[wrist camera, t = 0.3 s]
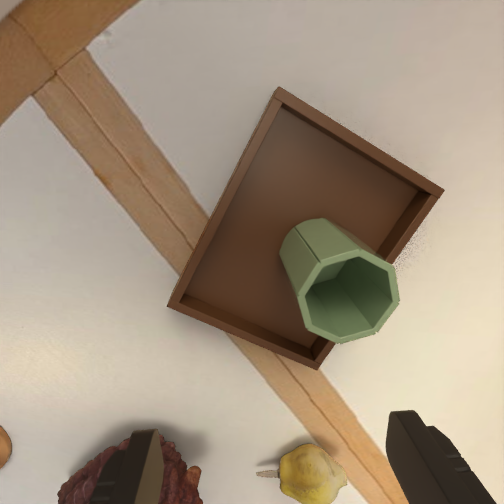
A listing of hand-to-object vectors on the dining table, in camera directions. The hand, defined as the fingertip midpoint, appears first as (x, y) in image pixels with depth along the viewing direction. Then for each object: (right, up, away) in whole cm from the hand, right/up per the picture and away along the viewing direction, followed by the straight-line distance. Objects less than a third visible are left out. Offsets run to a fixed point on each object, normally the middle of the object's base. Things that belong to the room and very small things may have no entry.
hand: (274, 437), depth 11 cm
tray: (+3, +7, +18) cm, 20 cm away
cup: (+5, +6, +18) cm, 20 cm away
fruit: (+5, -18, +27) cm, 33 cm away
